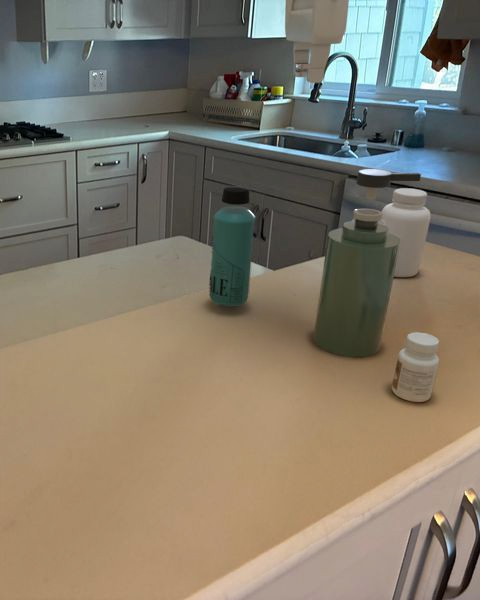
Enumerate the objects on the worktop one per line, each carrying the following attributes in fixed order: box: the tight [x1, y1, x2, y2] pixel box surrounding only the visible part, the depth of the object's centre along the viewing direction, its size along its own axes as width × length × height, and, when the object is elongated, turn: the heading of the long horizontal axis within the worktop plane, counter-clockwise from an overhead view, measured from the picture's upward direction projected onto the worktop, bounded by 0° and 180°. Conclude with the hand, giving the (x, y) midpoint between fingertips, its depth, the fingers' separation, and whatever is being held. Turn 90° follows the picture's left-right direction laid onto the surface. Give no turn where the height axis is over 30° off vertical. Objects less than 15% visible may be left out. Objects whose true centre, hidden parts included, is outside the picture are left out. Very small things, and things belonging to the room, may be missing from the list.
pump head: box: [355, 168, 422, 201], centre depth 80 cm, size 8×4×4 cm, turn 82°
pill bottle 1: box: [381, 187, 432, 278], centre depth 111 cm, size 8×8×15 cm
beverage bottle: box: [208, 185, 256, 307], centre depth 98 cm, size 6×7×20 cm
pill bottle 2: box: [391, 331, 440, 403], centre depth 75 cm, size 4×4×8 cm
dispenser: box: [312, 208, 401, 358], centre depth 86 cm, size 9×9×20 cm
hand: (306, 79), depth 83 cm, fingers open, 8 cm apart
